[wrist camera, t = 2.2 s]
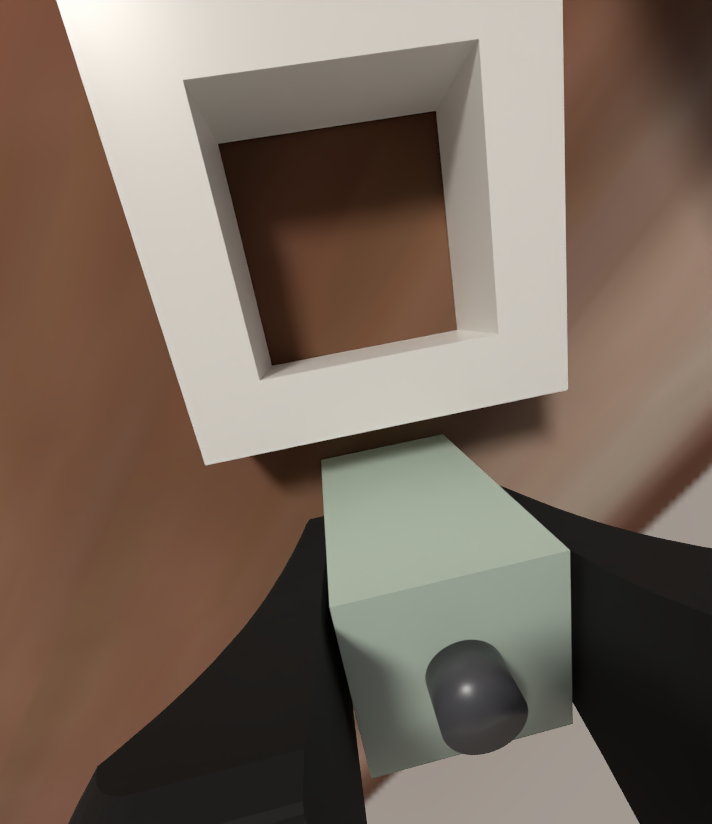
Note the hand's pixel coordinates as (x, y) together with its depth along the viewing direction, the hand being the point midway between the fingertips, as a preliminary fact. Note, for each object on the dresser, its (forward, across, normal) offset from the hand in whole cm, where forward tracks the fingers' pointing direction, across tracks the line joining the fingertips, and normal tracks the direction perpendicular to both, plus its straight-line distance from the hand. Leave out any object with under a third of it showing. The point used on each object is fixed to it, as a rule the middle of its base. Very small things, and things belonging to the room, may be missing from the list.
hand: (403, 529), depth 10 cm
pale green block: (+2, 0, 0) cm, 2 cm away
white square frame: (+2, 0, -8) cm, 8 cm away
